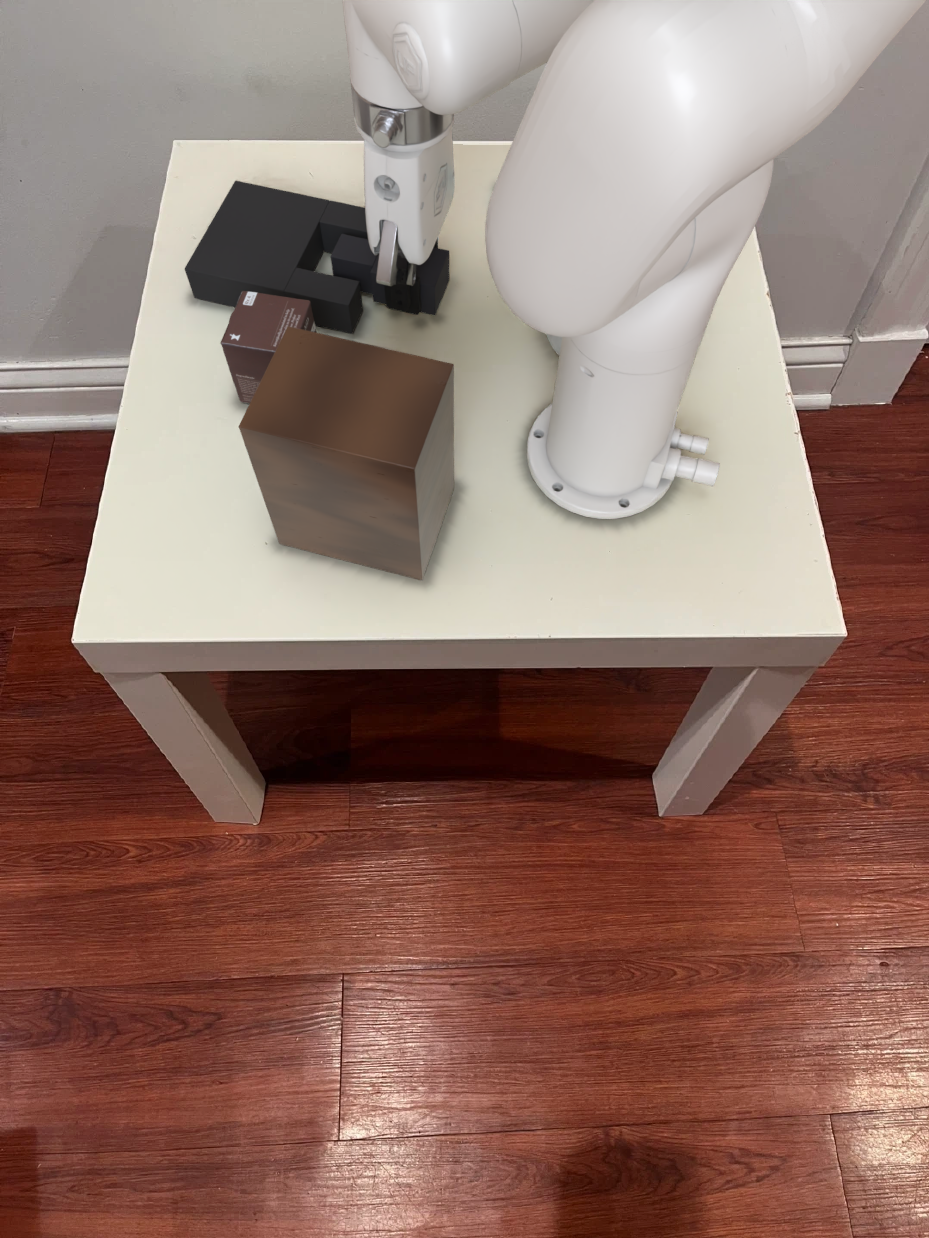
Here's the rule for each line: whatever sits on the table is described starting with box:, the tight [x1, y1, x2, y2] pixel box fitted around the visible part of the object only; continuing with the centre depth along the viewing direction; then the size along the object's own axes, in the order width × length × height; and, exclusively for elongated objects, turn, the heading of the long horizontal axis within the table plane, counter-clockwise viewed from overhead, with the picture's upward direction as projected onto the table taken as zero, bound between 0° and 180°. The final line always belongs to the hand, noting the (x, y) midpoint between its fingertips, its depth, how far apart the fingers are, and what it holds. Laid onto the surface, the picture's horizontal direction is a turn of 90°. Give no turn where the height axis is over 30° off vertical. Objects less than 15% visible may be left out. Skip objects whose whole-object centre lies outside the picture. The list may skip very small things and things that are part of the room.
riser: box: [238, 326, 455, 581], centre depth 66 cm, size 12×9×15 cm
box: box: [220, 291, 318, 404], centre depth 76 cm, size 6×6×7 cm
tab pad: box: [330, 234, 450, 317], centre depth 82 cm, size 10×5×4 cm, turn 74°
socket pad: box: [184, 180, 368, 335], centre depth 83 cm, size 16×12×4 cm
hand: (412, 286), depth 83 cm, fingers closed on tab pad, 4 cm apart
